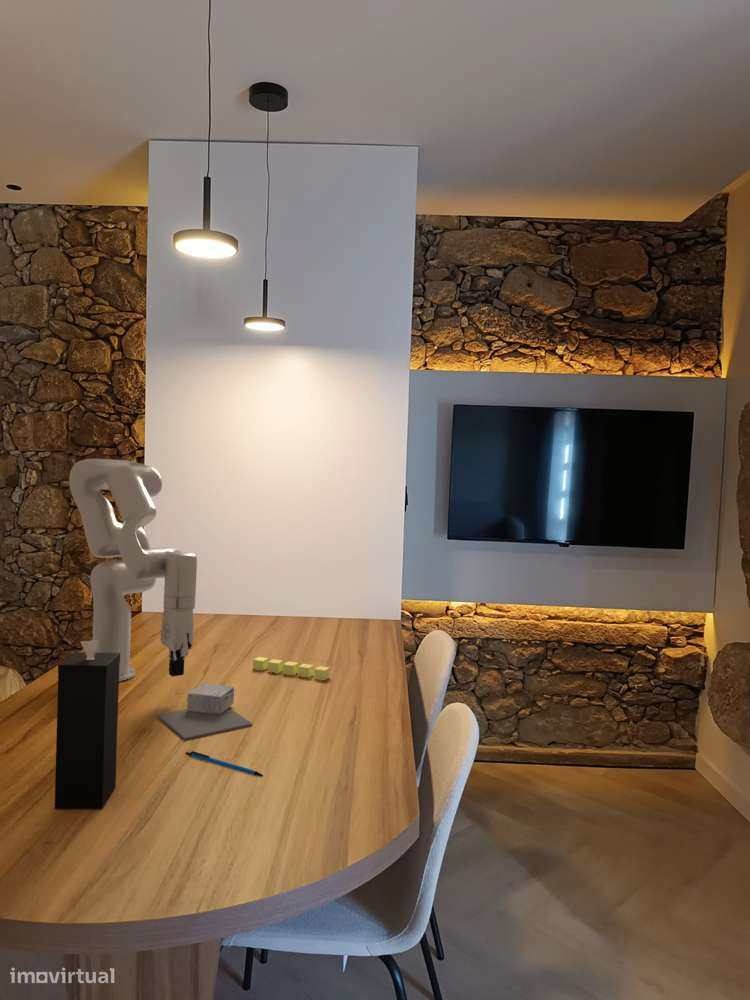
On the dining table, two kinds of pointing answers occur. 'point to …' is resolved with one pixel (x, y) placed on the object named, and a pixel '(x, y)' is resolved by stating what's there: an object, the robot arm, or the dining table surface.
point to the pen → (223, 763)
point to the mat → (202, 722)
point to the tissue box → (86, 728)
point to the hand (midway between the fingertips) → (176, 674)
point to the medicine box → (210, 698)
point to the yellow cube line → (291, 668)
